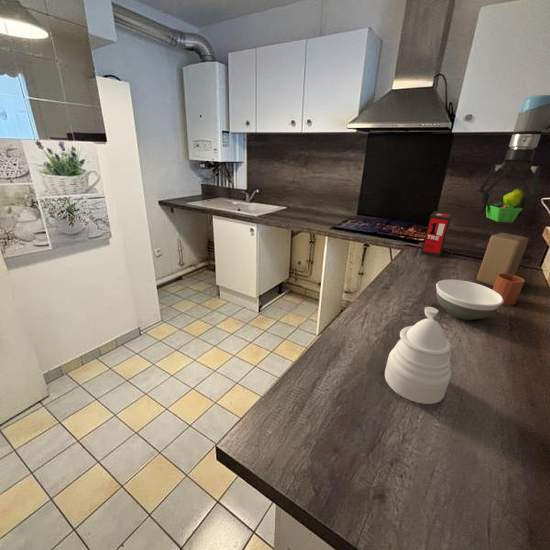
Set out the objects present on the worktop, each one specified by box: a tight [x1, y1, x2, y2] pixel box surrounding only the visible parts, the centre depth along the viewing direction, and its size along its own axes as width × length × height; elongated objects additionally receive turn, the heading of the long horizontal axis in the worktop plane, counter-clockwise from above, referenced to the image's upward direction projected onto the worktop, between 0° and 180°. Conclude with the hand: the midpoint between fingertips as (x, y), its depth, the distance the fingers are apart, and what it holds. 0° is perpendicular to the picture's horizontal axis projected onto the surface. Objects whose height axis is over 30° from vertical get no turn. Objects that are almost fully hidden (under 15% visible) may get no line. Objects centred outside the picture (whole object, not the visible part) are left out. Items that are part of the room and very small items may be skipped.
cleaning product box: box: [420, 210, 454, 258], centre depth 154 cm, size 16×9×20 cm, turn 147°
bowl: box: [435, 279, 503, 321], centre depth 95 cm, size 19×19×8 cm
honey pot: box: [384, 306, 452, 405], centre depth 63 cm, size 13×13×18 cm
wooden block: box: [476, 232, 529, 287], centre depth 118 cm, size 10×10×20 cm
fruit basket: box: [485, 188, 525, 223], centre depth 106 cm, size 11×9×11 cm
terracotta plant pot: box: [491, 273, 526, 306], centre depth 105 cm, size 8×8×9 cm
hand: (500, 214), depth 108 cm, fingers closed on fruit basket, 10 cm apart
